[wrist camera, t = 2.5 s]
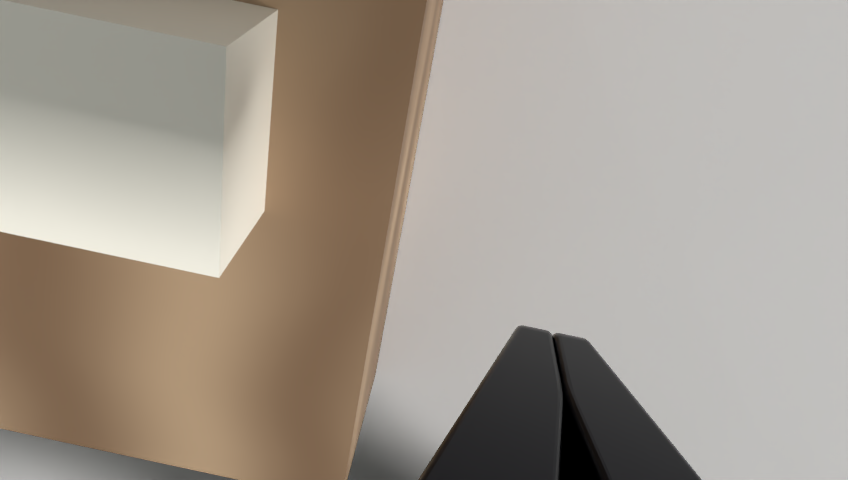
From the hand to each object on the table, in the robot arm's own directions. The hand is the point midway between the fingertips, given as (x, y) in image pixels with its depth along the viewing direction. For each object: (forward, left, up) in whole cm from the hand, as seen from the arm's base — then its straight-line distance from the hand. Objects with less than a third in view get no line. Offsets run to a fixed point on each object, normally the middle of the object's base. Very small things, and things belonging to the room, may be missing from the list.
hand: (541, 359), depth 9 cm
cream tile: (+7, 0, -5) cm, 9 cm away
